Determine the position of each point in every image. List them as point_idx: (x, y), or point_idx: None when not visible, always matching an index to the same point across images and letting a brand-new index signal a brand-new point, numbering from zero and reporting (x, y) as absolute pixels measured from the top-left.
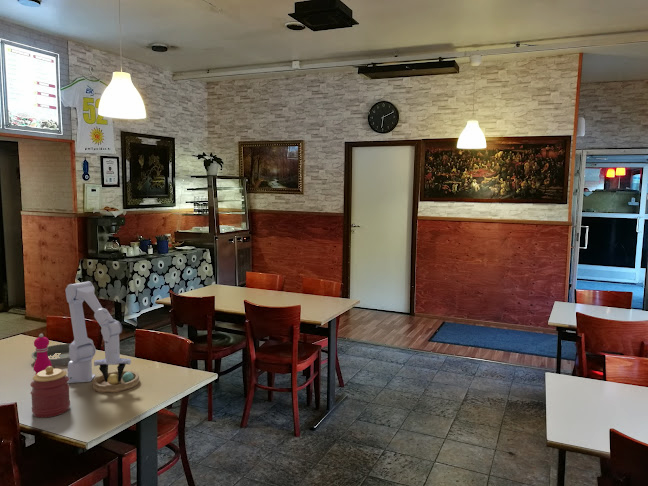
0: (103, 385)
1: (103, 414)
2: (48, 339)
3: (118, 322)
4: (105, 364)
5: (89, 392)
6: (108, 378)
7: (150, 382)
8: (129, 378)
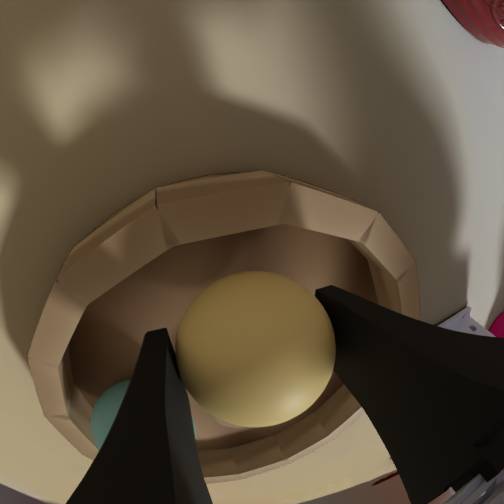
0: (331, 216)
1: None
2: None
3: None
4: (495, 475)
5: (396, 187)
6: (321, 316)
7: (6, 400)
8: (101, 412)
